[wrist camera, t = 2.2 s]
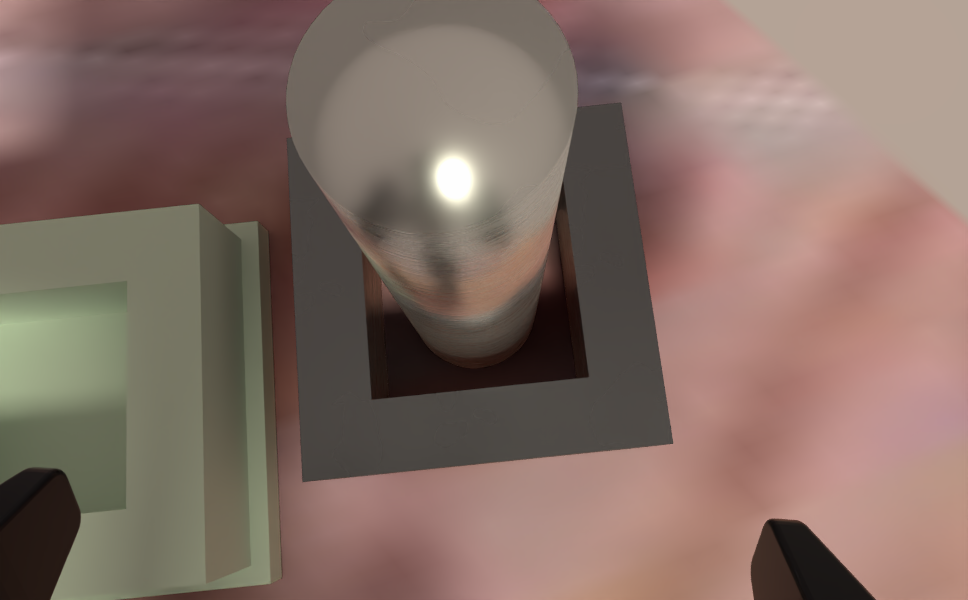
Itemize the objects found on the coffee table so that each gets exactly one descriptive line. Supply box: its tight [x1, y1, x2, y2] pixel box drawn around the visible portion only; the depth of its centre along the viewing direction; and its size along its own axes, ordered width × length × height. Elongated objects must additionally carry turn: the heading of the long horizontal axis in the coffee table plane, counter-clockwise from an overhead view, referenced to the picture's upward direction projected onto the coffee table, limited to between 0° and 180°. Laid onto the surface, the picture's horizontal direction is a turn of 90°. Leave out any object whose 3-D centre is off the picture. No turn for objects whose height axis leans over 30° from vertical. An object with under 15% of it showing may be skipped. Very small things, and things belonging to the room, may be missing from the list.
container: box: [0, 204, 282, 600], centre depth 19 cm, size 10×10×4 cm
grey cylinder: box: [286, 0, 578, 368], centre depth 15 cm, size 4×4×13 cm
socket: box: [287, 103, 673, 482], centre depth 20 cm, size 9×9×3 cm
